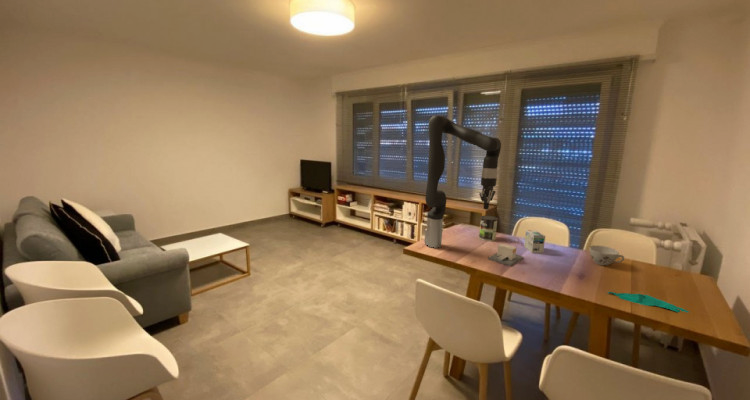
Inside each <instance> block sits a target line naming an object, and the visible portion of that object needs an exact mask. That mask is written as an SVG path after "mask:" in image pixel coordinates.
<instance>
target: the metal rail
mask: <svg viewBox="0 0 750 400" xmlns="http://www.w3.org/2000/svg"><path fill="white" fill-rule="evenodd" d="M497 258H498V260H500V261H503V260H505V259H507V258H508V257H506V256H502V255H501V256H499V257H497Z"/></svg>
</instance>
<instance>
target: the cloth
mask: <svg viewBox="0 0 750 400" xmlns="http://www.w3.org/2000/svg"><path fill="white" fill-rule="evenodd" d="M606 293H607V294H611V295H612V294H613V295H615V296H616V297H618V298H619V300H620V299H621V300H624V301H627V302H631V303H635V304H639V305H641V306H642V305H643V306H646V307H647V306H648V307H651V306H652V307H653V306H655V307H659V308H664V309H665V308H666V310H668V309H670V311H672V312H675V313H678V312H679V313H681V312H684V313H688V312H689V313H690V312H691V311H688V310H687V309H684V308H682V307H679V306H677V305H675V304H672V303H669V302H667V301H664V300H662V299H659V298H656V297H653V296H651V295H648V294H642V293H627V292H620V293H617V292H614V291H613V292H612V291H608V292H606ZM678 309H679V310H678ZM680 310H681V312H680Z"/></svg>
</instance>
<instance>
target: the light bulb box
mask: <svg viewBox="0 0 750 400" xmlns="http://www.w3.org/2000/svg"><path fill="white" fill-rule="evenodd" d="M545 242H546V235H545V234H543V233H541V232H540V231H538V230H536V229H535V230H533V229H526V230H525V237H524V242H523V243H524V245H523V247H524V248H525V249H526V250H527V251H529V252H530V253H531V254H544V250H545Z"/></svg>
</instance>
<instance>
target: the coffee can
mask: <svg viewBox="0 0 750 400" xmlns="http://www.w3.org/2000/svg"><path fill="white" fill-rule="evenodd" d="M498 220H499V219H498V217H496V216H494V215H481V216H480V223H479V232H478V233H479V234H478V239H480V240H481V241H484V242H485V241H487V242H495V241H496V235H497V225H498Z"/></svg>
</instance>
